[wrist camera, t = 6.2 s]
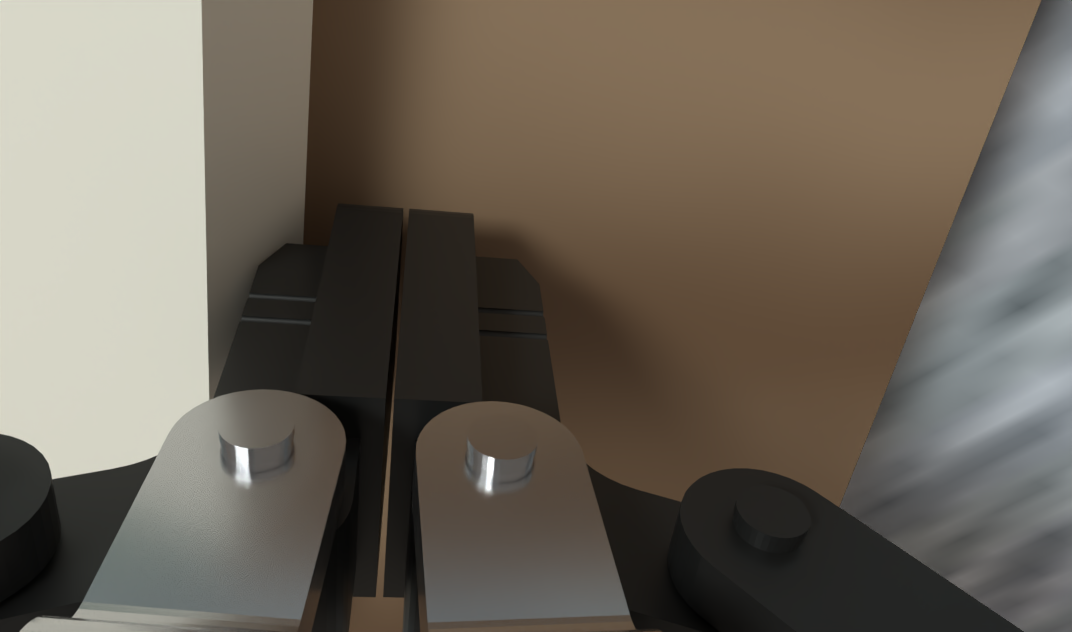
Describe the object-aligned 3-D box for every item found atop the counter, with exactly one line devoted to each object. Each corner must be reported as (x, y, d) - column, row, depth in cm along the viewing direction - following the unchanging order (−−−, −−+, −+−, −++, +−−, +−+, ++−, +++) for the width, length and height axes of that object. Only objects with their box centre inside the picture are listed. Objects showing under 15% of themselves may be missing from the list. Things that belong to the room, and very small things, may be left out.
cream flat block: (-199, -350, 10) (-387, -374, 8) (322, -231, 8) (196, -235, 7) (-45, 429, 15) (-142, 490, 14) (288, 584, 13) (214, 670, 12)
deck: (207, -629, 9) (134, -729, 7) (1079, -460, 10) (1240, -501, 8) (247, 569, 17) (219, 688, 15) (727, 587, 19) (762, 699, 17)
